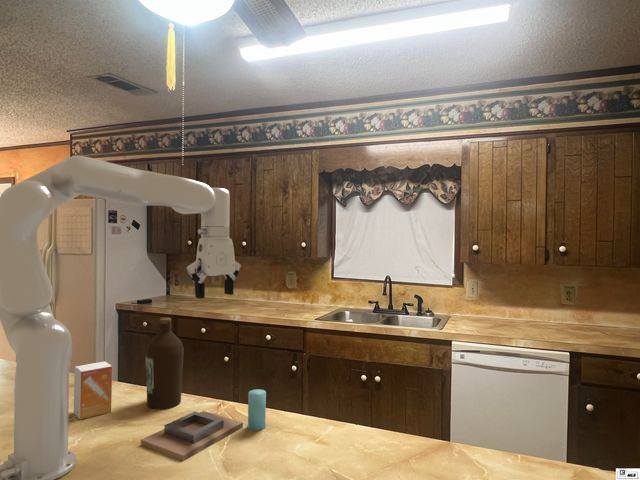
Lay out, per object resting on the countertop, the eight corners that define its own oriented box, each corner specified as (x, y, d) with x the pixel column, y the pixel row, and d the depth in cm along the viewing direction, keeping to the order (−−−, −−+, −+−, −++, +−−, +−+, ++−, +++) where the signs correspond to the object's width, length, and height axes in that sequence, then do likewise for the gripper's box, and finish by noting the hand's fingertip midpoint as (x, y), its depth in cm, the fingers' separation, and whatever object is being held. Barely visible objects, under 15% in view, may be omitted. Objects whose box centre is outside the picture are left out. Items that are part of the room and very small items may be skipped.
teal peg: (258, 432, 109) (258, 396, 108) (244, 428, 111) (244, 393, 111) (268, 425, 112) (269, 391, 112) (255, 421, 115) (255, 388, 115)
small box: (79, 420, 114) (80, 371, 114) (73, 413, 118) (73, 366, 118) (112, 412, 119) (112, 365, 119) (104, 405, 124) (105, 360, 124)
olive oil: (178, 394, 134) (179, 314, 134) (187, 406, 125) (188, 320, 125) (141, 400, 128) (143, 317, 128) (148, 413, 119) (149, 323, 119)
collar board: (182, 460, 94) (183, 446, 94) (140, 444, 101) (141, 431, 101) (242, 426, 111) (242, 414, 111) (203, 415, 118) (203, 403, 118)
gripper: (196, 233, 108) (196, 301, 108) (248, 233, 122) (248, 294, 122) (179, 233, 113) (179, 298, 113) (231, 233, 126) (230, 291, 126)
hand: (214, 295), depth 117 cm, fingers open, 9 cm apart
